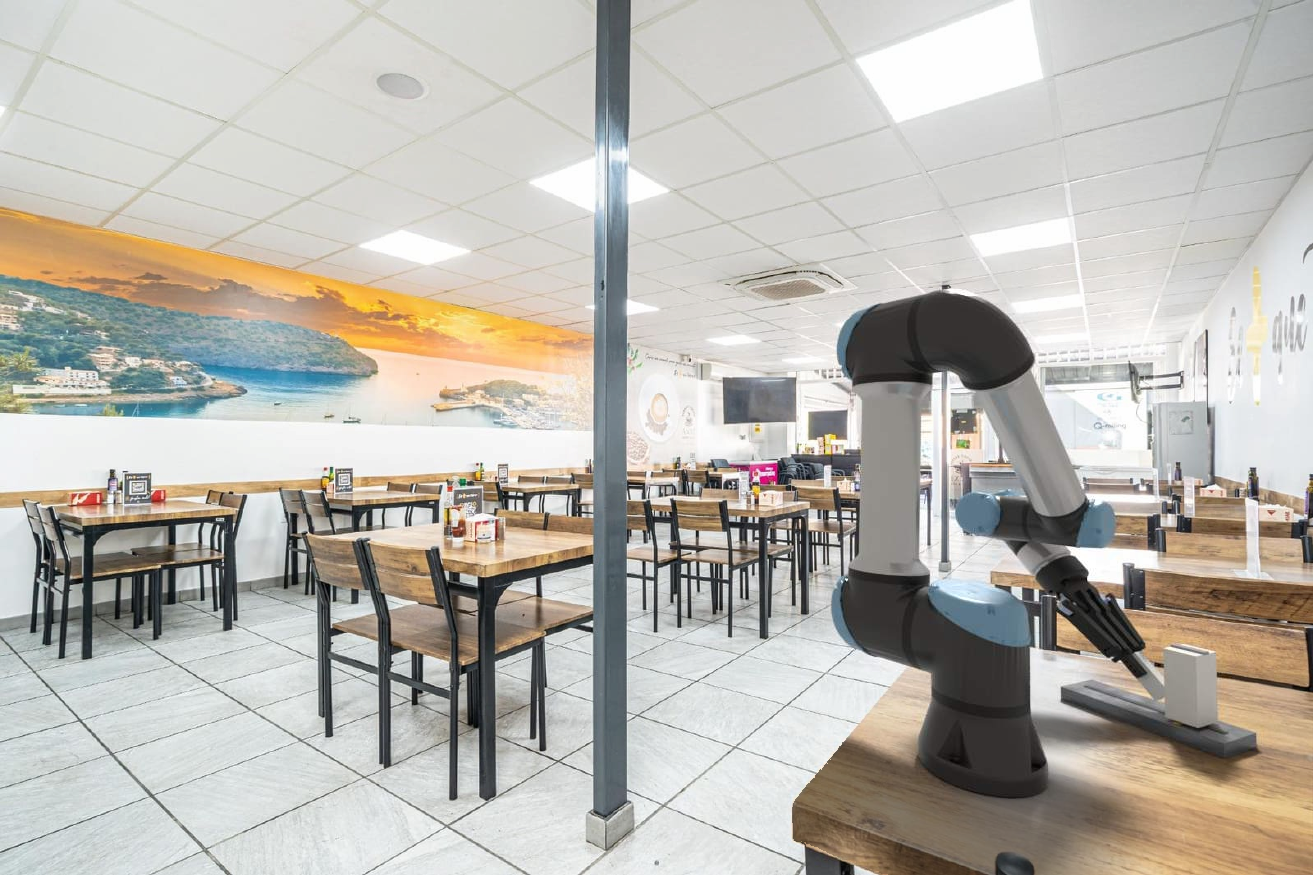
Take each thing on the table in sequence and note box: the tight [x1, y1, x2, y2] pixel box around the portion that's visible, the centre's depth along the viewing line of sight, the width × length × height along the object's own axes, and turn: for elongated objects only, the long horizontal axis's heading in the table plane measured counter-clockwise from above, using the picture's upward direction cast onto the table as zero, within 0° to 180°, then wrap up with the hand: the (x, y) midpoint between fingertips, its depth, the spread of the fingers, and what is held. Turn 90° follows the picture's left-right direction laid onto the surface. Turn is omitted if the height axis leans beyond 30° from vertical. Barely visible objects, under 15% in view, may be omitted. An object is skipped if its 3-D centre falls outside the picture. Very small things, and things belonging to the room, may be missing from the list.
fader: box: [1162, 642, 1219, 728], centre depth 89 cm, size 4×5×10 cm
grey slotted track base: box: [1060, 679, 1258, 759], centre depth 94 cm, size 22×8×2 cm, turn 23°
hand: (1165, 696), depth 92 cm, fingers closed
